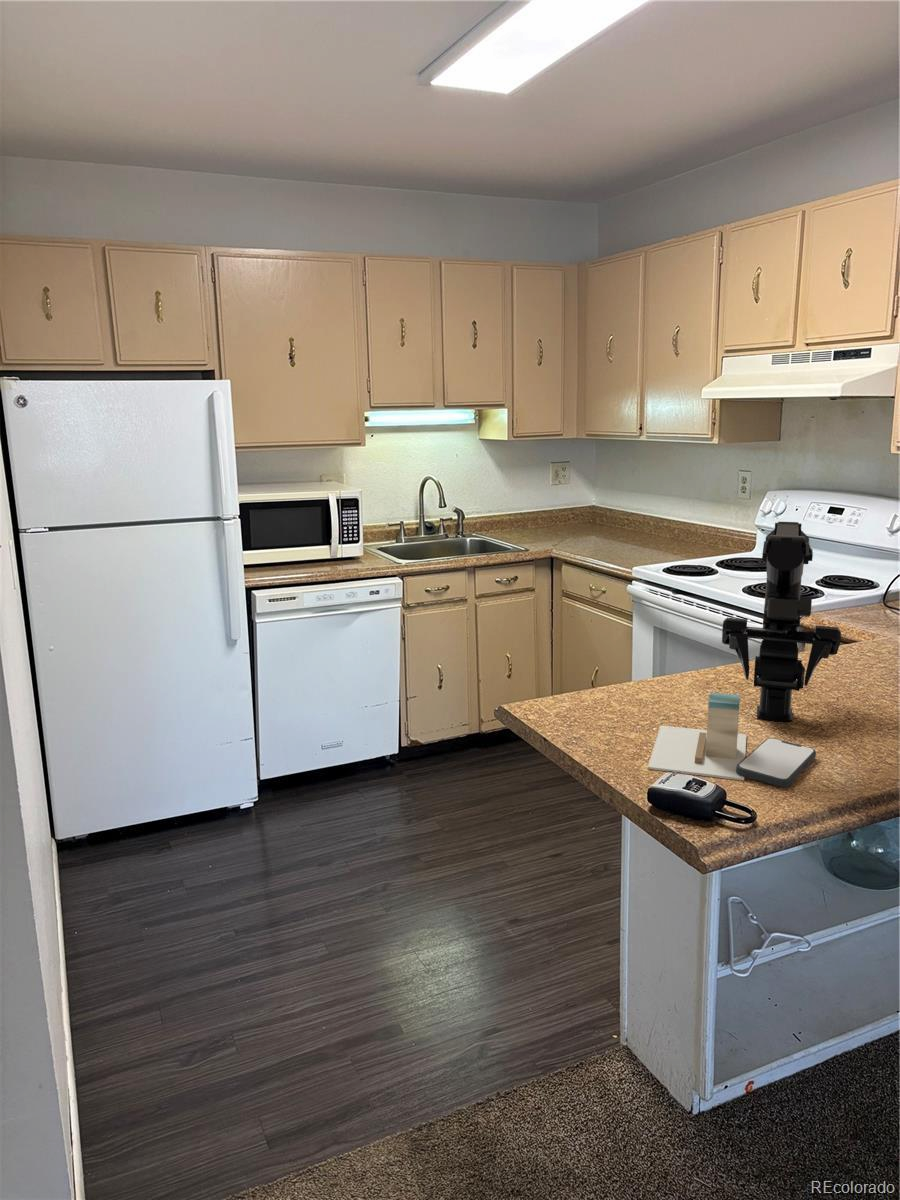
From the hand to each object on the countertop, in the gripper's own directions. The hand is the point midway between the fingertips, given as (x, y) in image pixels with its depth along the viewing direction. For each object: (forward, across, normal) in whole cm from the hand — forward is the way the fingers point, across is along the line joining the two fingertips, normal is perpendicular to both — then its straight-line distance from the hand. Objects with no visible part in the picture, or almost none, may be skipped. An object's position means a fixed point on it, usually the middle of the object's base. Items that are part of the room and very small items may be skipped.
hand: (776, 681), depth 144 cm
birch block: (+10, -8, +10) cm, 16 cm away
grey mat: (+10, -12, +11) cm, 19 cm away
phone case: (+12, +1, +8) cm, 15 cm away
